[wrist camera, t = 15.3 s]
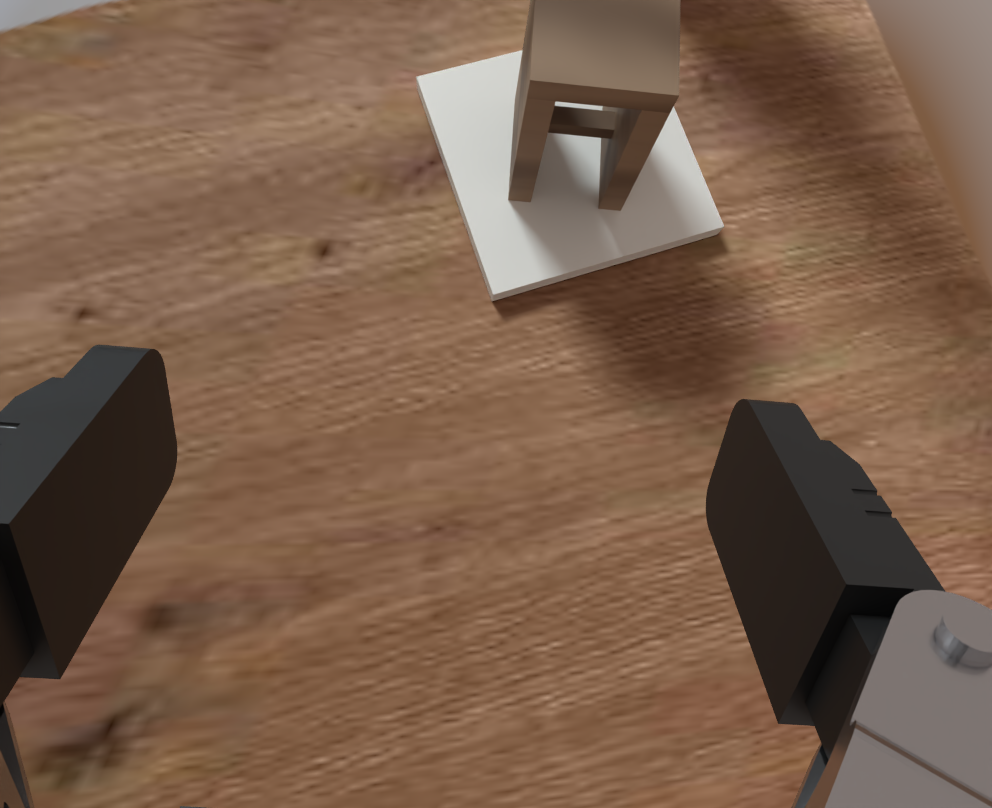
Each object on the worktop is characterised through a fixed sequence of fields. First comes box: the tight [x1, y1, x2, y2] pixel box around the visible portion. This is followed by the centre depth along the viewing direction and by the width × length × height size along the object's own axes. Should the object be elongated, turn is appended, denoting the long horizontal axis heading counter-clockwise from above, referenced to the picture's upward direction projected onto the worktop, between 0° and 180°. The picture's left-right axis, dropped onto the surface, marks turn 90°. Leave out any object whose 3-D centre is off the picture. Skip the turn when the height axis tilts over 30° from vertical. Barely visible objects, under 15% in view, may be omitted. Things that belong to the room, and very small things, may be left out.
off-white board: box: [416, 50, 724, 301], centre depth 41 cm, size 13×13×1 cm
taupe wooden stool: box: [508, 0, 680, 211], centre depth 36 cm, size 6×6×10 cm
